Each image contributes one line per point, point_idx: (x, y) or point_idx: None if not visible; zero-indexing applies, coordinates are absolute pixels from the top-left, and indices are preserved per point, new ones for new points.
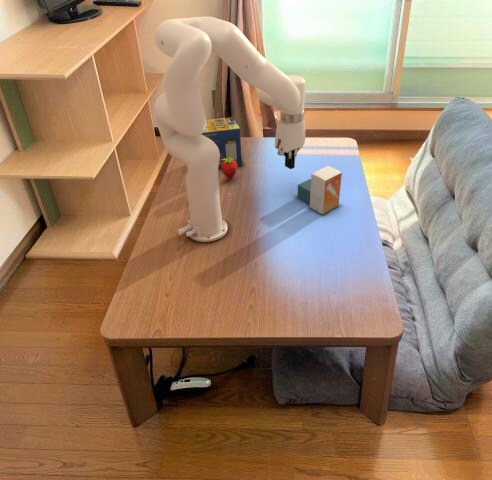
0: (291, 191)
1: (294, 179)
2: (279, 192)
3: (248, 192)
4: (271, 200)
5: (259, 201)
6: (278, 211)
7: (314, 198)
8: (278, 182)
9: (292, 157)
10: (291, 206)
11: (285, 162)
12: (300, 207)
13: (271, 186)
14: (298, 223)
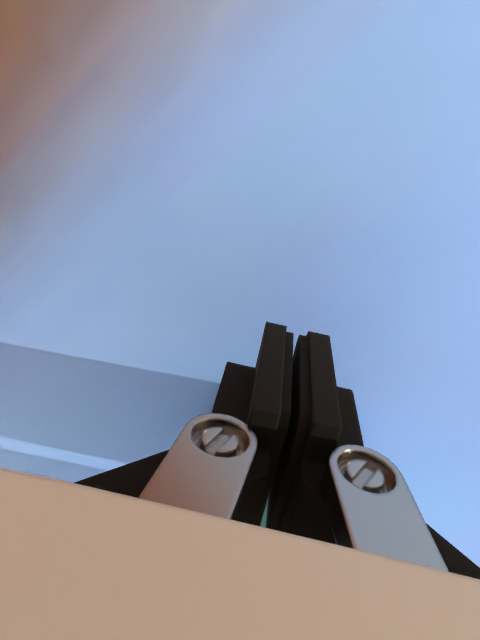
0: (270, 315)
1: (456, 233)
2: (202, 250)
3: (27, 28)
4: (83, 265)
5: (12, 202)
6: (31, 370)
7: None
8: (328, 143)
9: (279, 524)
10: (124, 405)
11: (219, 387)
12: (153, 449)
13: (233, 135)
14: None
